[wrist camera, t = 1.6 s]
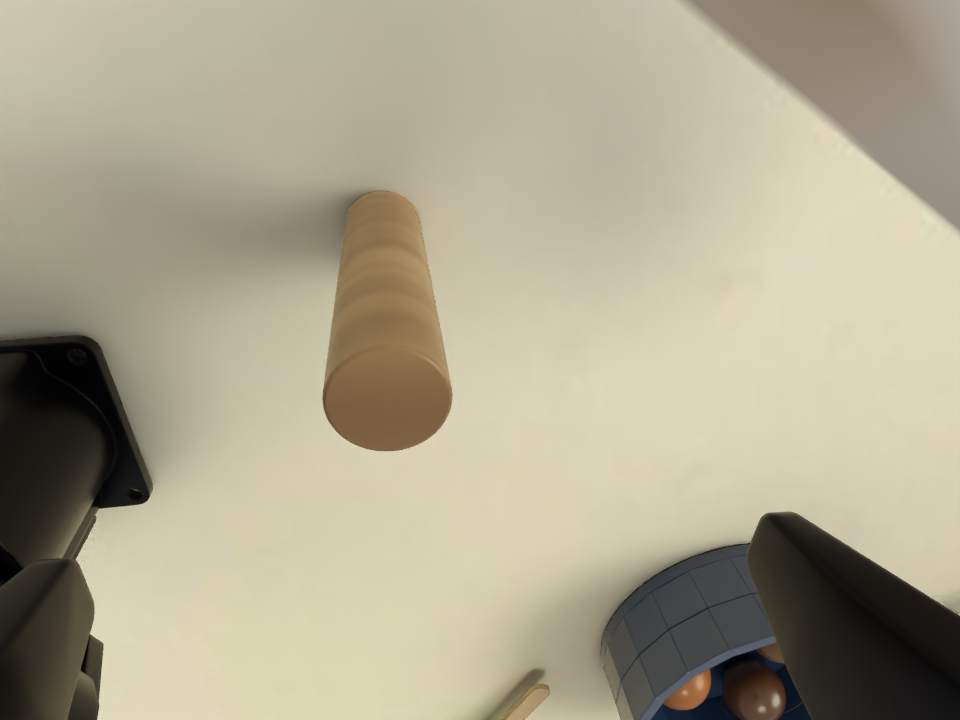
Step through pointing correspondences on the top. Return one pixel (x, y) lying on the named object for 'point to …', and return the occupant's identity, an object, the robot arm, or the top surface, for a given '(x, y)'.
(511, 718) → the popsicle
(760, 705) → the bead
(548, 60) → the top surface
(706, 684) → the bead
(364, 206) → the stick
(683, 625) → the bowl
